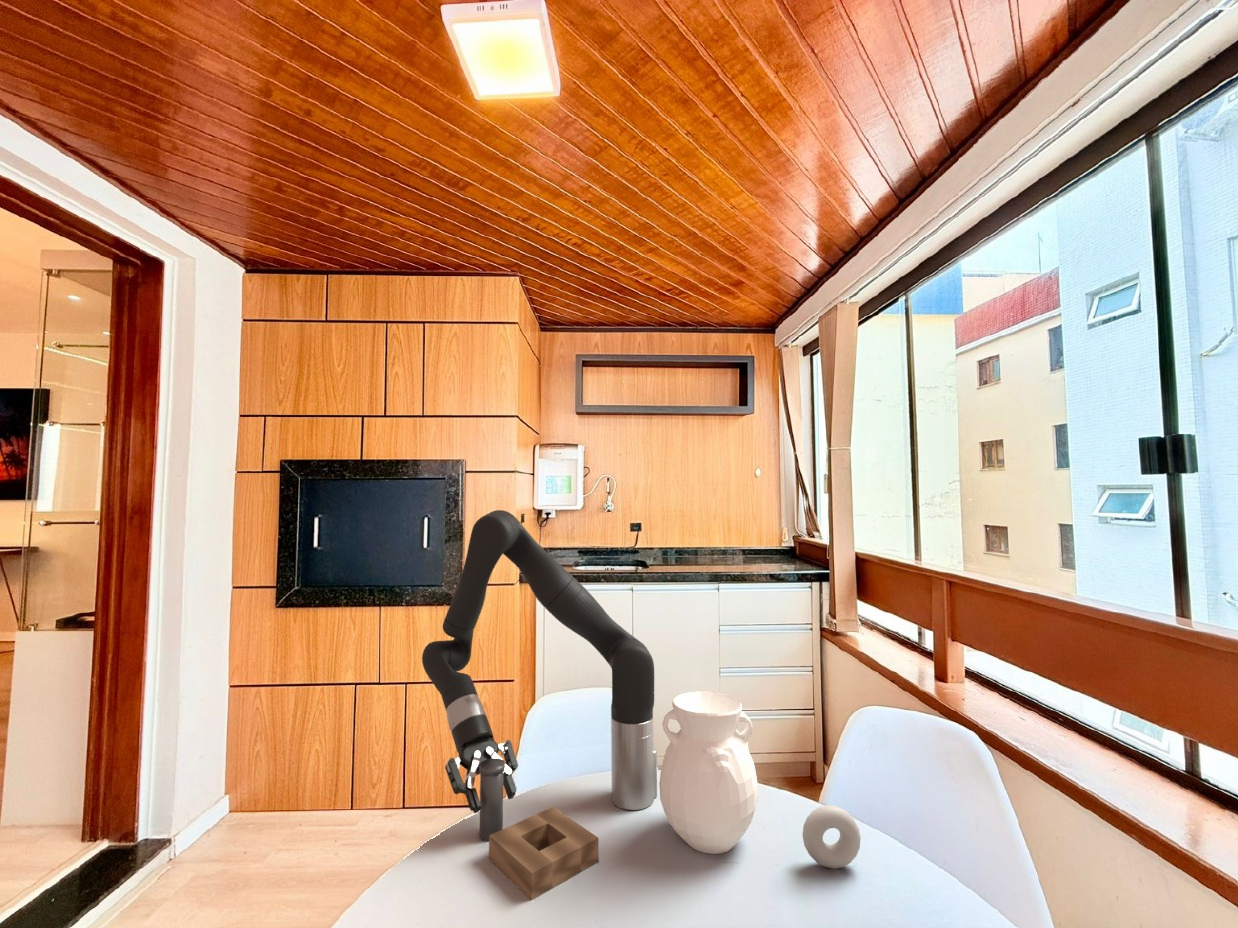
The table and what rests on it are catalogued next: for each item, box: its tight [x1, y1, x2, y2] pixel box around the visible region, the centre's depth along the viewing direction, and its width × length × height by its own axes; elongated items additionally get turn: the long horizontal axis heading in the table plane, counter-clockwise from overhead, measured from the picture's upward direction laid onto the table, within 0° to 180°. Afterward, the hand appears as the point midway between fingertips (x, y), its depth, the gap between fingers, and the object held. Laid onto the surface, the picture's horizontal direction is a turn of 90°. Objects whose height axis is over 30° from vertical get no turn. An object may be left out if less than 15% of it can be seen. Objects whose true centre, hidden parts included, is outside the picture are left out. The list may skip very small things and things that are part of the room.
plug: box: [478, 758, 506, 842], centre depth 103 cm, size 5×5×13 cm
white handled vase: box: [658, 690, 759, 855], centre depth 102 cm, size 19×18×25 cm
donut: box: [802, 804, 862, 869], centre depth 93 cm, size 10×4×10 cm, turn 90°
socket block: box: [488, 806, 600, 901], centre depth 95 cm, size 14×14×4 cm
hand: (495, 803), depth 102 cm, fingers open, 7 cm apart
